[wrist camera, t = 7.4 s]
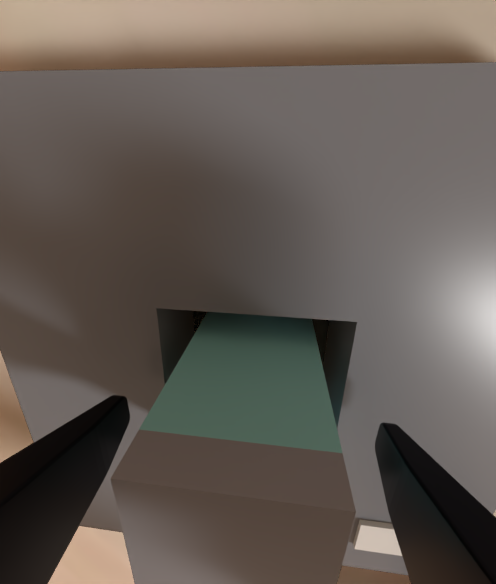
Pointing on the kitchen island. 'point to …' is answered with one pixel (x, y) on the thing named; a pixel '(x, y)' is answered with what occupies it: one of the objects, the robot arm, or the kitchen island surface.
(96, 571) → the kitchen island surface
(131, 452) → the block
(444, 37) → the kitchen island surface
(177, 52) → the kitchen island surface
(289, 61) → the kitchen island surface
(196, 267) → the outlet plate
